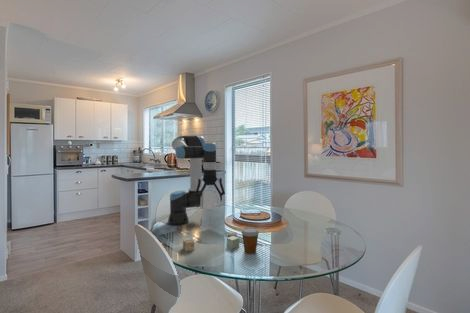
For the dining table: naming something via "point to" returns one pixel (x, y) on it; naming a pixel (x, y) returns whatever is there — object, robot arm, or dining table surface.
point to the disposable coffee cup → (250, 239)
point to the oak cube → (188, 244)
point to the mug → (209, 199)
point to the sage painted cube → (232, 242)
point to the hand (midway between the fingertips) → (210, 206)
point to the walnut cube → (232, 234)
